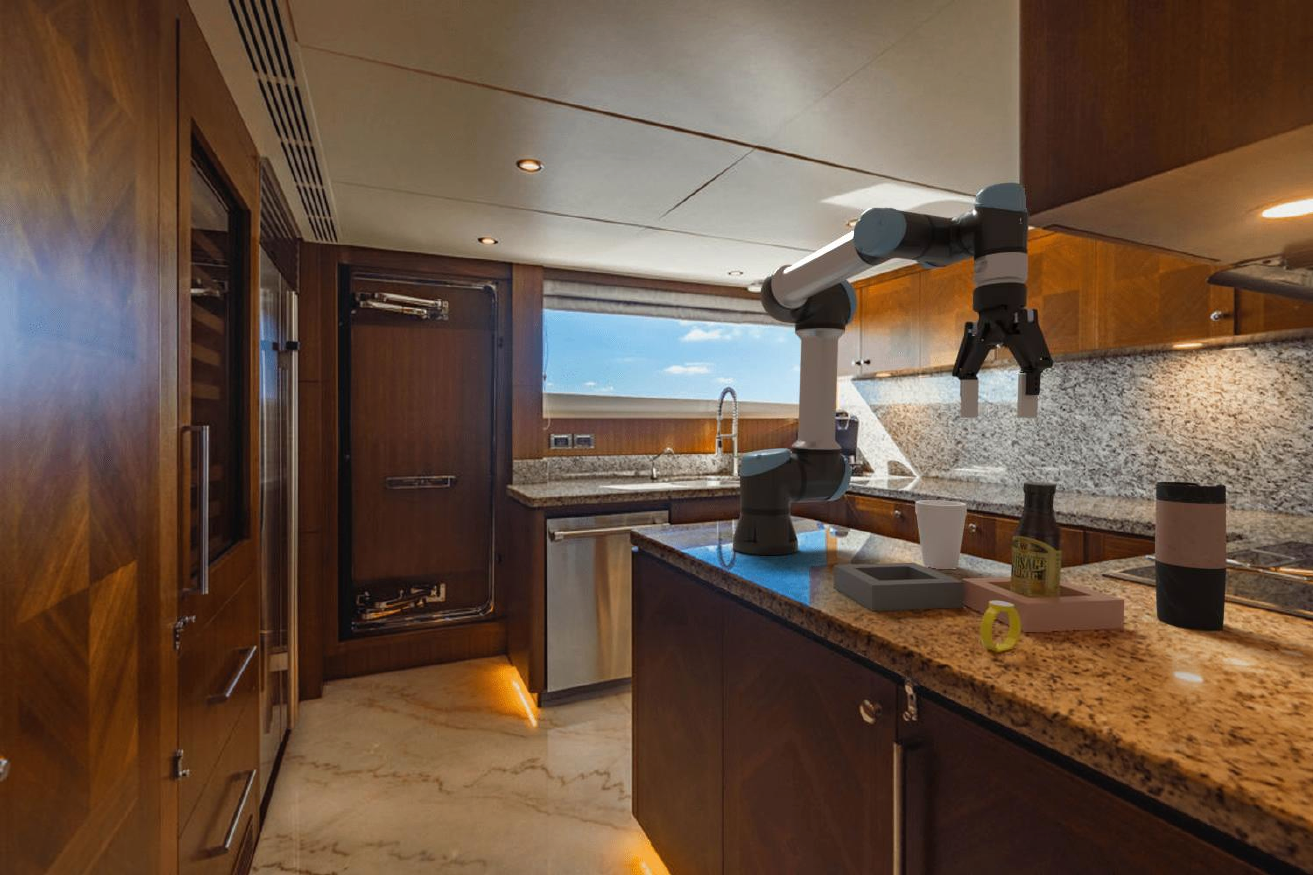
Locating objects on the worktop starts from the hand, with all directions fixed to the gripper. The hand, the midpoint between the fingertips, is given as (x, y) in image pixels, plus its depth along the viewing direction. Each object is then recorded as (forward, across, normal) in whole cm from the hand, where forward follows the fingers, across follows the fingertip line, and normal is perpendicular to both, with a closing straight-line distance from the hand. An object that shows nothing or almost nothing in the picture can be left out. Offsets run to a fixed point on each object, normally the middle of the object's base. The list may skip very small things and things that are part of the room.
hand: (996, 418), depth 96 cm
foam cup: (+30, -24, +6) cm, 39 cm away
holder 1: (+30, -4, -15) cm, 34 cm away
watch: (+30, +20, -14) cm, 38 cm away
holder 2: (+29, +8, +1) cm, 31 cm away
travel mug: (+29, +14, +20) cm, 39 cm away
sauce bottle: (+30, +8, +1) cm, 31 cm away
